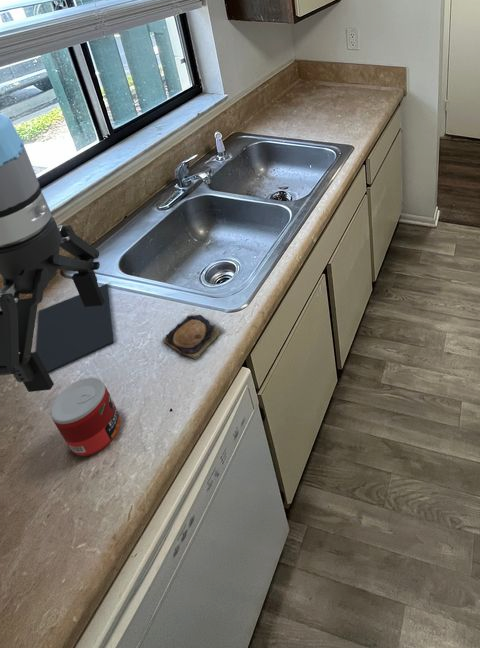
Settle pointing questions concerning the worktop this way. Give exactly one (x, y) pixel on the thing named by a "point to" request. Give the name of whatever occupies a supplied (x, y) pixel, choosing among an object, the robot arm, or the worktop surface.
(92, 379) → the canned food
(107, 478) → the worktop surface
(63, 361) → the mat
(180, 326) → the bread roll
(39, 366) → the robot arm
